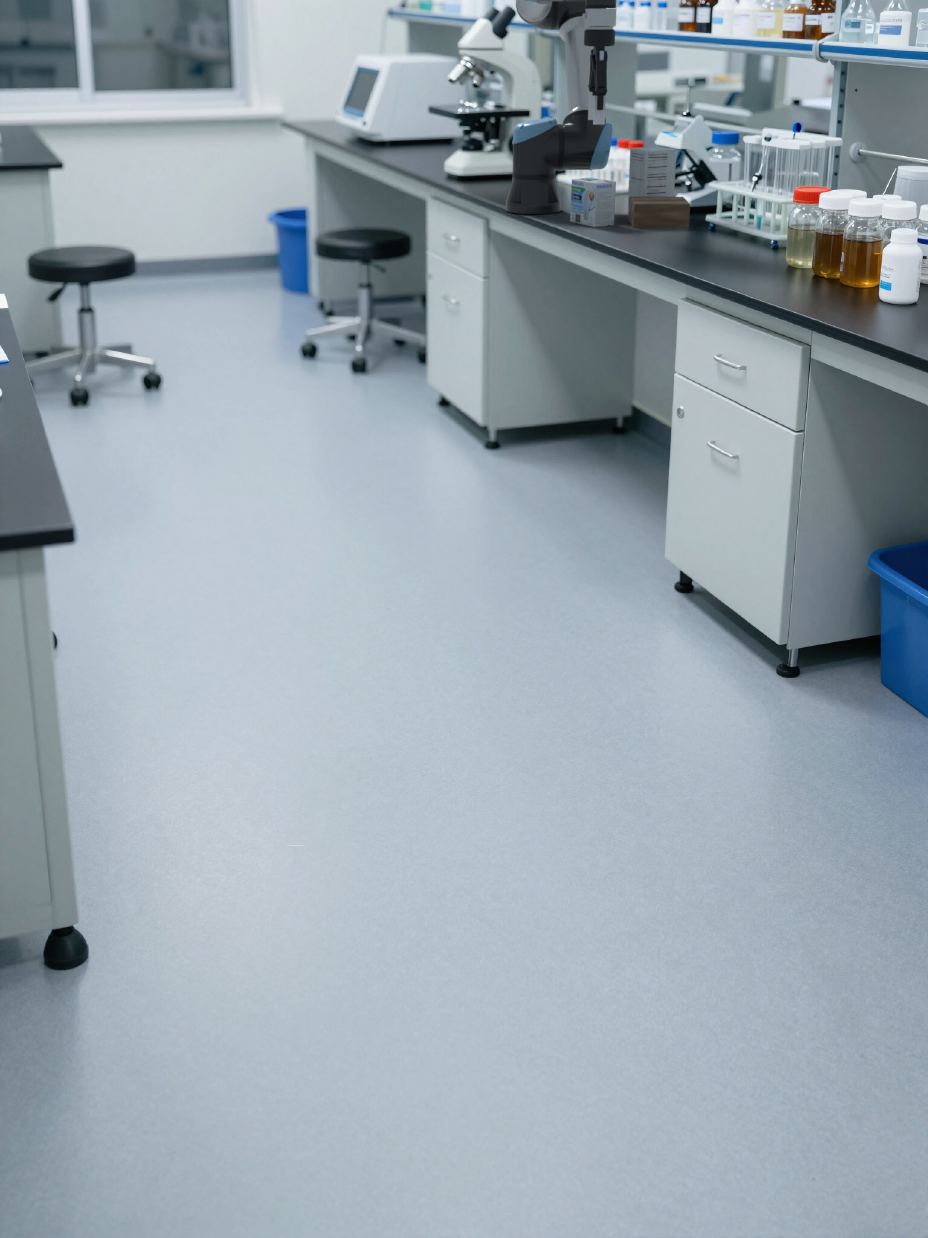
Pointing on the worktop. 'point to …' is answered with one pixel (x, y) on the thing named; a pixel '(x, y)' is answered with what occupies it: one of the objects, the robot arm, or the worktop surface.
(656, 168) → the supplement box
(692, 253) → the worktop surface
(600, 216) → the light bulb box
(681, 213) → the walnut plinth
